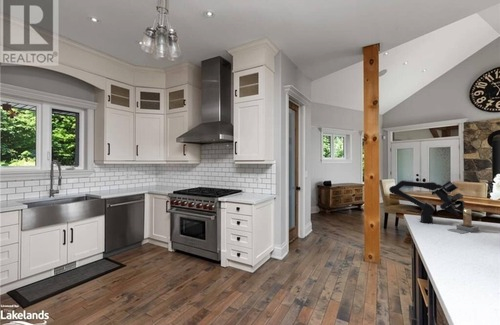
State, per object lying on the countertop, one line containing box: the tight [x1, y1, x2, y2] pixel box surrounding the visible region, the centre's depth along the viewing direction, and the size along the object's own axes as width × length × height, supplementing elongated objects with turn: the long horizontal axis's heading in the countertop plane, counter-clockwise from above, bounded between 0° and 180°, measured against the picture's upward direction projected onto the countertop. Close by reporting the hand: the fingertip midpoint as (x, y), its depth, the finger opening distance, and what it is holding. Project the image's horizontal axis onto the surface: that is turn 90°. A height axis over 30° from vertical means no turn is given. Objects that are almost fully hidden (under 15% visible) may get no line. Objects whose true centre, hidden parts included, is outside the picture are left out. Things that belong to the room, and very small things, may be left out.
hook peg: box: [462, 208, 472, 227], centre depth 150 cm, size 4×4×14 cm
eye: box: [455, 223, 480, 234], centre depth 150 cm, size 8×8×3 cm
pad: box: [447, 228, 469, 235], centre depth 148 cm, size 8×7×1 cm
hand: (463, 214), depth 152 cm, fingers open, 9 cm apart
